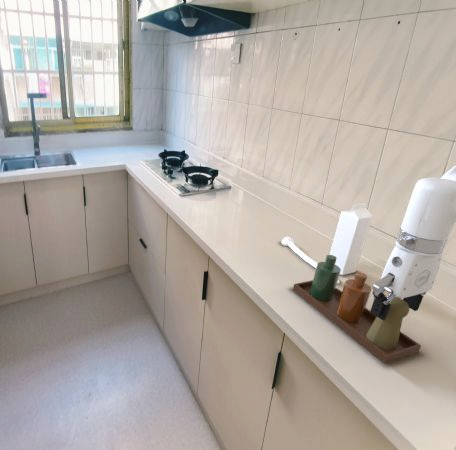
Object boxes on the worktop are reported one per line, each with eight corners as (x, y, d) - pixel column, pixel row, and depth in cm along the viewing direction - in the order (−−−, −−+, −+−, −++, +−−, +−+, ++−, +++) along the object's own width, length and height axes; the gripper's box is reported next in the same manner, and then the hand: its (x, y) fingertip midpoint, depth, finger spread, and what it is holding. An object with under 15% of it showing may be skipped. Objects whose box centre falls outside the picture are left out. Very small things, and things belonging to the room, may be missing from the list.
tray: (320, 284, 98) (322, 278, 98) (418, 353, 74) (421, 345, 73) (292, 290, 95) (294, 283, 94) (385, 364, 71) (388, 356, 70)
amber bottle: (347, 307, 88) (360, 267, 83) (366, 320, 83) (381, 279, 78) (330, 311, 86) (343, 270, 81) (349, 325, 81) (363, 283, 76)
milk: (355, 272, 106) (377, 206, 97) (341, 275, 103) (362, 208, 94) (338, 262, 111) (358, 199, 102) (325, 266, 108) (343, 201, 99)
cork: (384, 330, 80) (400, 291, 75) (403, 349, 74) (421, 309, 70) (360, 331, 79) (374, 292, 75) (377, 350, 74) (393, 309, 69)
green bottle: (321, 288, 95) (331, 250, 91) (337, 299, 91) (348, 260, 86) (305, 291, 94) (315, 253, 89) (320, 303, 89) (331, 263, 84)
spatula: (347, 283, 99) (349, 275, 98) (335, 285, 98) (337, 277, 97) (289, 242, 124) (290, 235, 123) (279, 242, 123) (280, 235, 122)
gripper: (408, 256, 61) (380, 331, 67) (469, 243, 66) (438, 313, 73) (371, 238, 67) (349, 309, 74) (429, 228, 73) (404, 294, 80)
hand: (393, 311), depth 73 cm, fingers open, 9 cm apart
